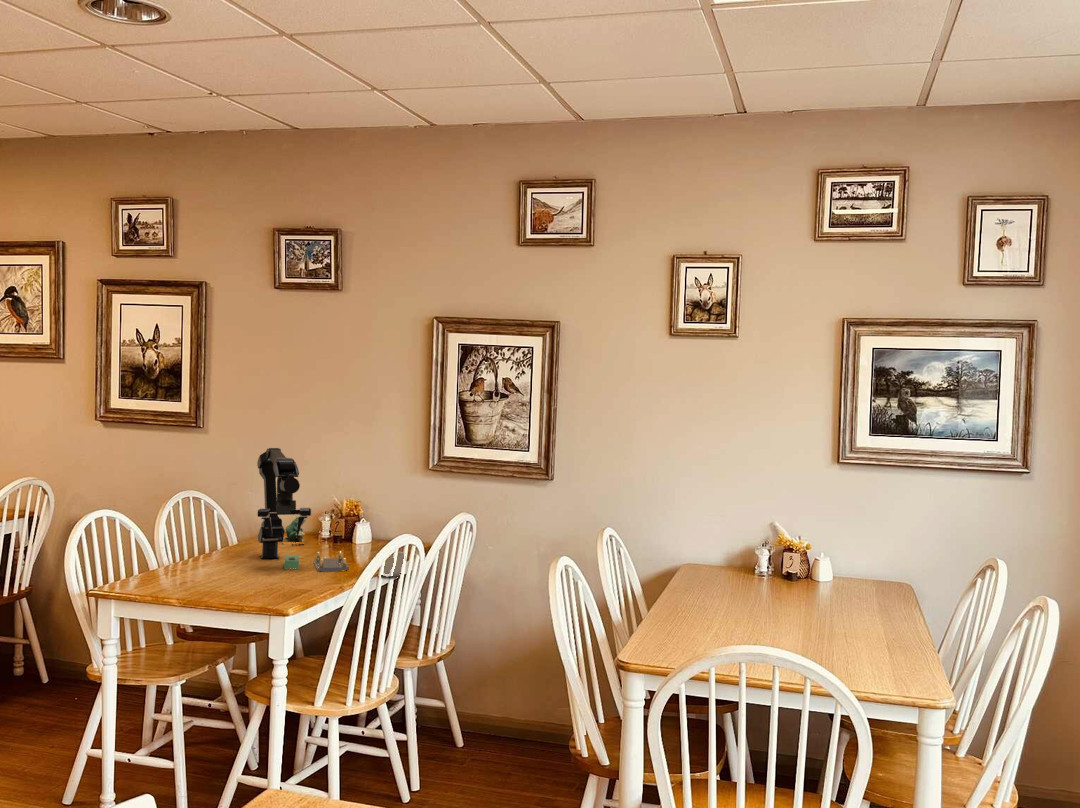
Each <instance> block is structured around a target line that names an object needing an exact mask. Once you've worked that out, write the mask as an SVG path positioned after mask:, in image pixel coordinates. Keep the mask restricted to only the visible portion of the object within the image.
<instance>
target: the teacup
mask: <svg viewBox="0 0 1080 808" xmlns="http://www.w3.org/2000/svg"><path fill="white" fill-rule="evenodd" d="M378 553H379V552H377V553H376V554H375V555H374V556H375V557H376V555H377V554H378ZM404 553H405V552H402V551H399V552H398V557H397V563H396V566H395V569H394V572H393V577H392V578H395V577H400V575H401V574H400V572H401V567H402V564H403V559H404ZM393 563H394V558H393V555H391V556H390V558H388V560H387V562H386V564H385V566H384V573H385V574H389V573H390V570H391V569H392V567H393ZM399 574H400V575H399Z"/></svg>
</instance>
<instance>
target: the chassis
mask: <svg viewBox="0 0 1080 808" xmlns="http://www.w3.org/2000/svg"><path fill="white" fill-rule="evenodd" d="M342 556H343V551H342V550H338V557H337V558H336V557H335V558H334V557H332V558H331V557H330V558H329V557H328V558H321V551H316V558H313V564H314V563H315V564H314V566H316V567H315V568H317V569H316V571H317V570H318V571H337V572H343V571H342V570H349V569H350V566H349V565H348V563H347V557H342ZM318 571H317V572H318ZM349 571H350V570H349Z"/></svg>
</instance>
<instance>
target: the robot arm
mask: <svg viewBox="0 0 1080 808" xmlns="http://www.w3.org/2000/svg"><path fill="white" fill-rule="evenodd" d="M256 466H257V469H258V473H259V476H260V477H261V478H262V479H263V488H264V490H263V491H264V492H263V493H264V508H259V509H258V510H257V517H258V518H259V517H260V520H262V522H261V526H260V527H259V531H258V535H257V541H258V543H260V544H262V551H261V553H262V554H260V559H261V558H262V559H261V560H266V559H267V558H268V559H267V560H270V559H269V558H279V559H280V556H279V554H278V552H279V543H282V542H283V539H284V538H285V537H284V536H285V533H286V529H285V528H284V526H283V519H282V518H280V516H281V515H283V516H284V515H285V516H286V515H291V516H292V515H293V516H294V515H295V516H296V515H298V516H299V520H298V527H297V536H298V535H299V531H300V528H301V527H302V526H303V525H302V523H303V521H304V519H308V517H309V516H312V509H311V507H300V508H299V509H297V500H295V499H294V496H293V495H294V494H295V493H297V492H298V491H299V490H300V486H301V484H300V481H299V480H298V478H299V475H300V470H299V467H298V464H297V462H296V461H295V459H293V458H292V457H291V458H290V457H287V456H285V454H284V453H283V452H282V449H281V448H279V447H268V448H266V451H264V452H263V453H261V454H259V457H258V459H257V463H256ZM276 478H277V479H276ZM303 524H304V523H303Z"/></svg>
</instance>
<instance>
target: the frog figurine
mask: <svg viewBox="0 0 1080 808" xmlns="http://www.w3.org/2000/svg"><path fill="white" fill-rule="evenodd" d="M299 516H300V515H297V516H296V517H295V518H294V519H293V520H292V522H291V523H290V524H289V525H287V526H286V527H285V533H286V537H283V542H293V543H294V542H295V543H296V542H302V541H303V540H304V541H305V539H304V537H303V536H305V535H306V533H305V532H304V531H303V528H300V531H299V535H298V536H297V527H298V520H299ZM306 521H307V520H306V518H304V521H303V523H302V525H301V526H303V524H305V523H306Z"/></svg>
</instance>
